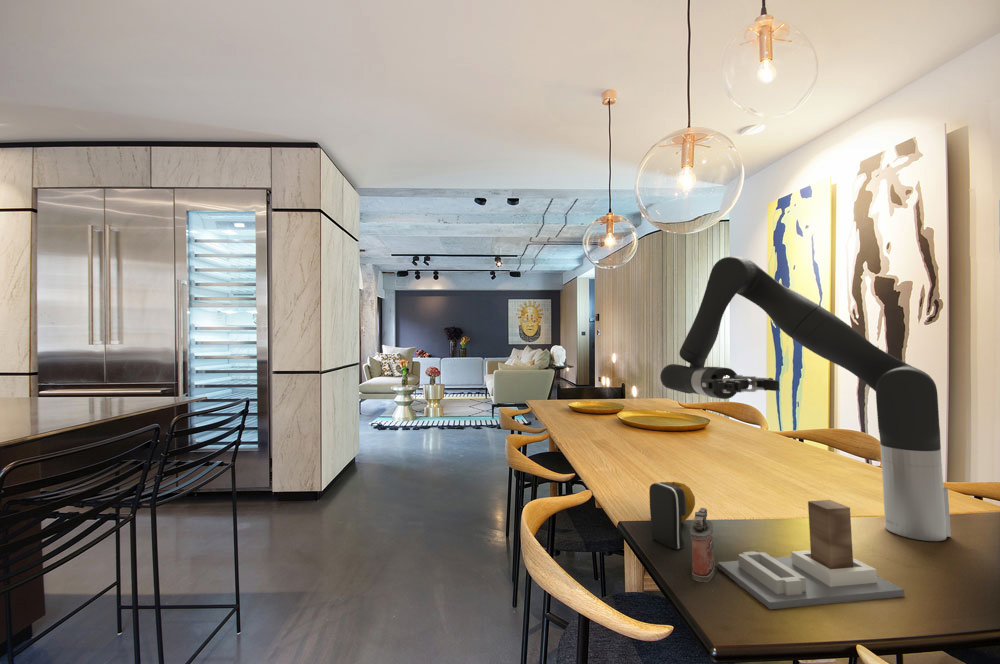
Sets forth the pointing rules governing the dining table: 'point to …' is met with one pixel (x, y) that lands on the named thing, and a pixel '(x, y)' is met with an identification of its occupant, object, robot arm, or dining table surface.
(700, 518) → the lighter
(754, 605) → the dining table surface
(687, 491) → the apple
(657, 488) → the battery charger
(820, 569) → the holder board
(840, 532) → the tall brown wooden block
